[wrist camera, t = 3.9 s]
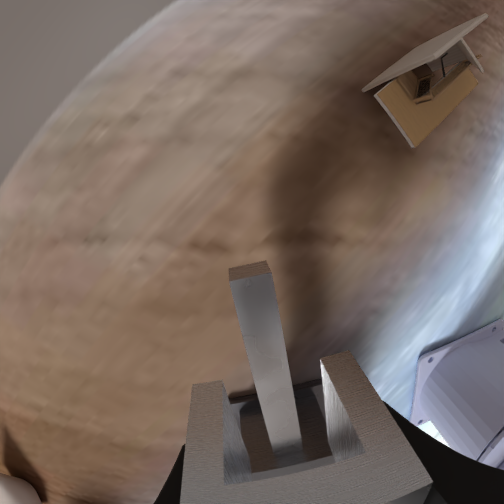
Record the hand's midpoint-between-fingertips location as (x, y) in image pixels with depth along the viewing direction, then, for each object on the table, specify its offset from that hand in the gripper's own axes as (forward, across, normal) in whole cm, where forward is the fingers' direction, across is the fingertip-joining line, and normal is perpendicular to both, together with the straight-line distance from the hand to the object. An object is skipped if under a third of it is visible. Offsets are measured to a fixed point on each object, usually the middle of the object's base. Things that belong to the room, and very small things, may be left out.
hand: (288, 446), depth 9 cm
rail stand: (+9, 0, +4) cm, 10 cm away
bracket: (+2, 0, 0) cm, 2 cm away
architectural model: (+10, -11, -12) cm, 19 cm away
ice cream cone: (+10, +32, +17) cm, 37 cm away
